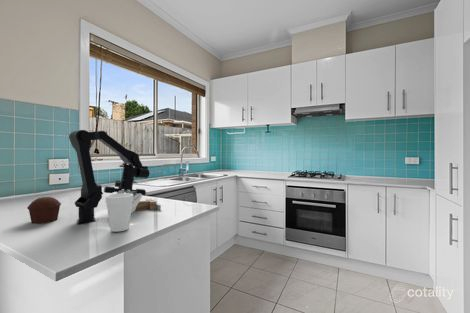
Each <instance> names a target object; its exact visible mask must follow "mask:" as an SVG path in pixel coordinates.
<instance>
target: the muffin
mask: <svg viewBox="0 0 470 313" xmlns="http://www.w3.org/2000/svg"><path fill="white" fill-rule="evenodd" d="M61 205H62V203H61V202H60V201H59V200H58V199H57V198H55V197H51V196H44V197H39V198H36V199H34V200H33V201H32V202H30V204H29V205H28V206H27V207H26V208H27V210H28V213H29V217H30V218H29V219H30V222H31V224H38V225H39V224H47V223H50V222H51V223H52V222H54V221H57V220H58V218H59V212H60V207H61Z"/></svg>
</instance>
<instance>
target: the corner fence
mask: <svg viewBox="0 0 470 313" xmlns="http://www.w3.org/2000/svg"><path fill="white" fill-rule="evenodd" d="M161 206H162V204H159V203H158V202H156V209H155V210H157V211H158V212H159V211H161V209H162V208H161Z"/></svg>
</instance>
